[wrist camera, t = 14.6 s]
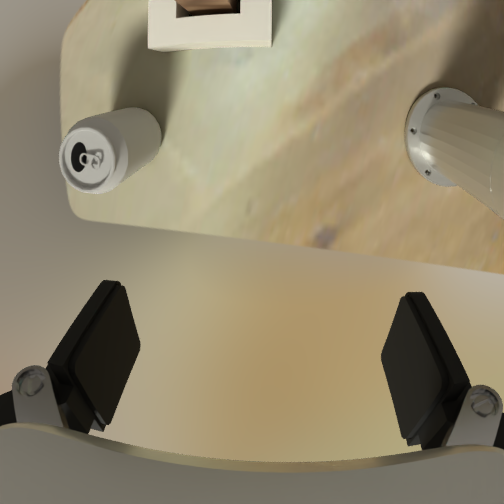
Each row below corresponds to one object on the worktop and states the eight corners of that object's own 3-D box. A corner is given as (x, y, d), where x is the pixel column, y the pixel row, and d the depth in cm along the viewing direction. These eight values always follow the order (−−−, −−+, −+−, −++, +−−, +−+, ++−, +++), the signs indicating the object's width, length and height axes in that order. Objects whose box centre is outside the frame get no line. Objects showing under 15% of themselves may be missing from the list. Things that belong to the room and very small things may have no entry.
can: (113, 102, 33) (56, 114, 22) (170, 112, 33) (126, 126, 23) (104, 159, 36) (50, 191, 26) (157, 171, 37) (115, 208, 26)
